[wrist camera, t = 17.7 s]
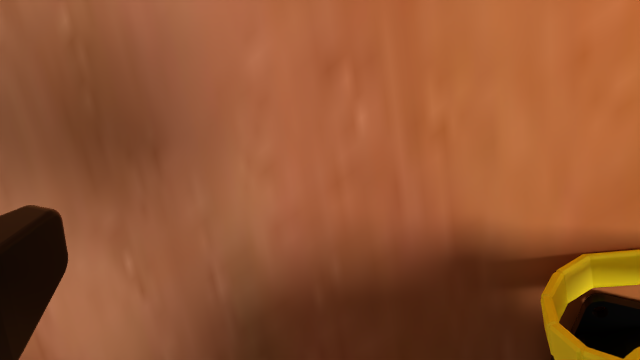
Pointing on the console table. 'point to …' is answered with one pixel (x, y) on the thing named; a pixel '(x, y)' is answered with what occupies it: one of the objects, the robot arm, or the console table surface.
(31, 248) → the robot arm
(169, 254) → the console table surface
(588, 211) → the console table surface
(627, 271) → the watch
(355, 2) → the console table surface
